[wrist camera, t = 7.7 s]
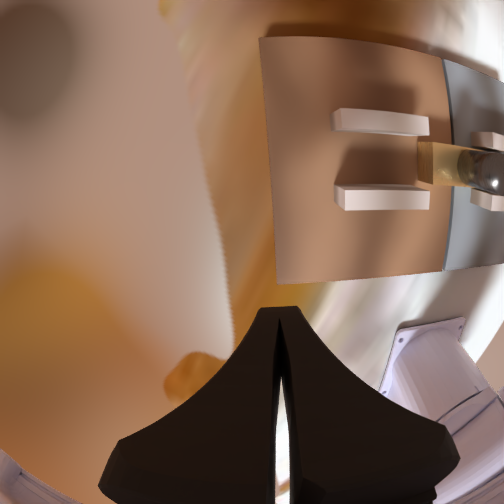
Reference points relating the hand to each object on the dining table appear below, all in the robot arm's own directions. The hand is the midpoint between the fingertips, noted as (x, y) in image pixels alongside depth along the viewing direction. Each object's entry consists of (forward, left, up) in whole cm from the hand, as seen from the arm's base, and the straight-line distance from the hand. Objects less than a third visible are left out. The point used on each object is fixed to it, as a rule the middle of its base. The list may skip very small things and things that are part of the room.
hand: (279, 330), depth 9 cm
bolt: (+5, -13, -7) cm, 16 cm away
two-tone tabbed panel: (+5, -10, -9) cm, 15 cm away
